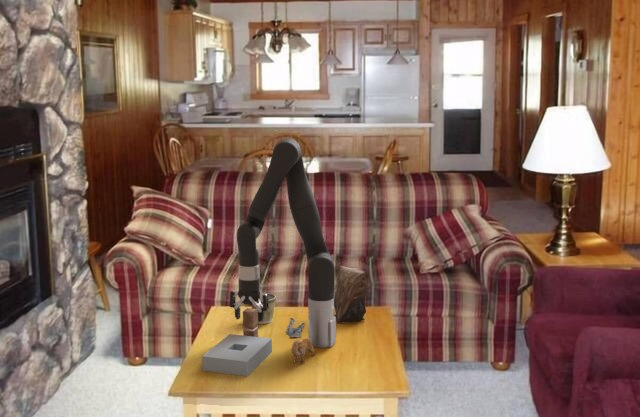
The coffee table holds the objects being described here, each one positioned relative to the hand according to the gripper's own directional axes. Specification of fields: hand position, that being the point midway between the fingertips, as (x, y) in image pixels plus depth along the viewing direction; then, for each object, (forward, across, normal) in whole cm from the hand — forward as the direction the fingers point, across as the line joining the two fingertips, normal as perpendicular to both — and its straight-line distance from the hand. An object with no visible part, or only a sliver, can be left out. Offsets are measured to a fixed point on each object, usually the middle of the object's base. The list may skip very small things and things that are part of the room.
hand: (249, 320), depth 283 cm
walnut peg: (+8, 0, 0) cm, 8 cm away
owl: (+8, -27, -35) cm, 45 cm away
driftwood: (+9, -12, -18) cm, 23 cm away
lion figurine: (+8, -24, +11) cm, 28 cm away
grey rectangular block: (+8, -3, +18) cm, 20 cm away
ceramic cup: (+8, +3, -24) cm, 26 cm away
